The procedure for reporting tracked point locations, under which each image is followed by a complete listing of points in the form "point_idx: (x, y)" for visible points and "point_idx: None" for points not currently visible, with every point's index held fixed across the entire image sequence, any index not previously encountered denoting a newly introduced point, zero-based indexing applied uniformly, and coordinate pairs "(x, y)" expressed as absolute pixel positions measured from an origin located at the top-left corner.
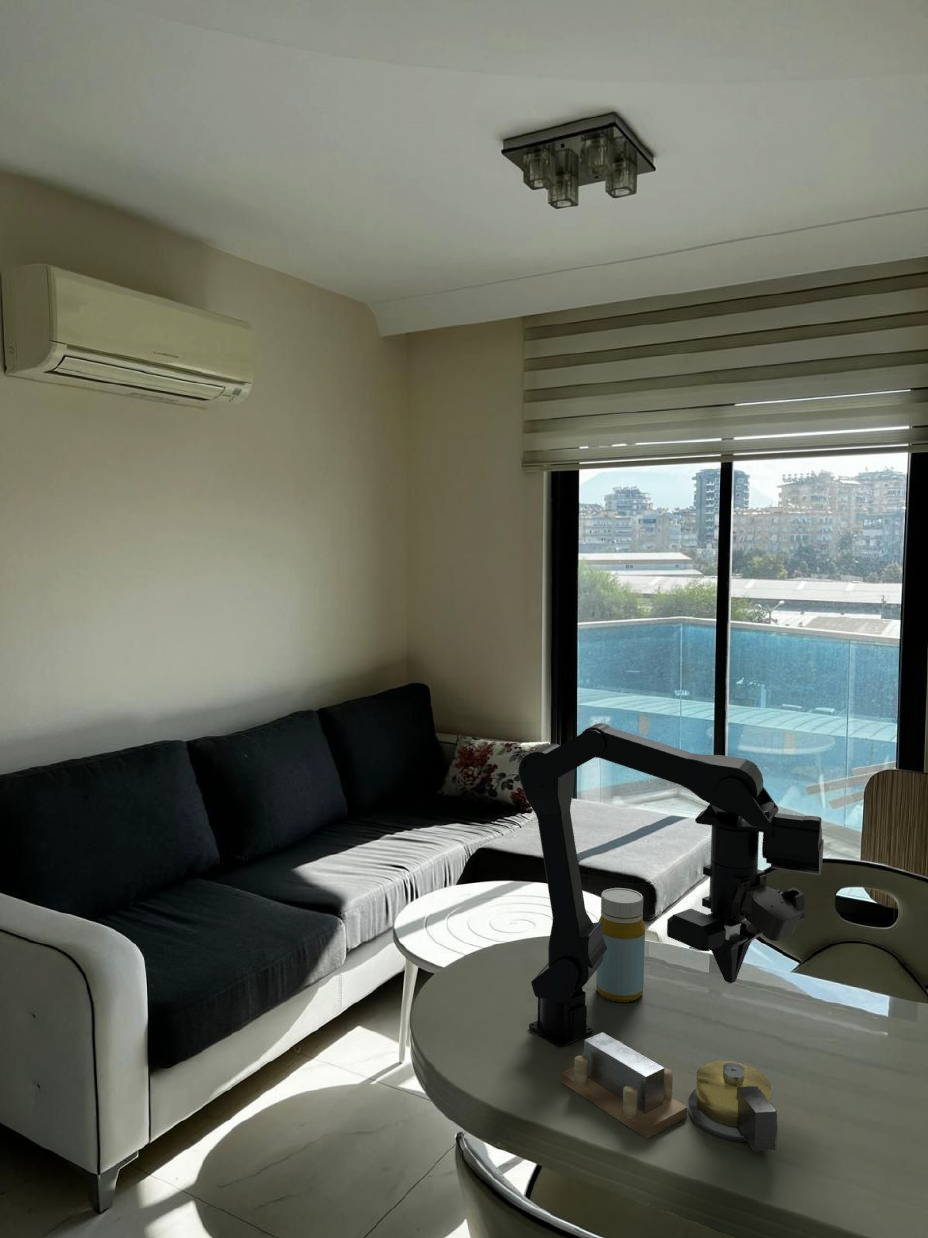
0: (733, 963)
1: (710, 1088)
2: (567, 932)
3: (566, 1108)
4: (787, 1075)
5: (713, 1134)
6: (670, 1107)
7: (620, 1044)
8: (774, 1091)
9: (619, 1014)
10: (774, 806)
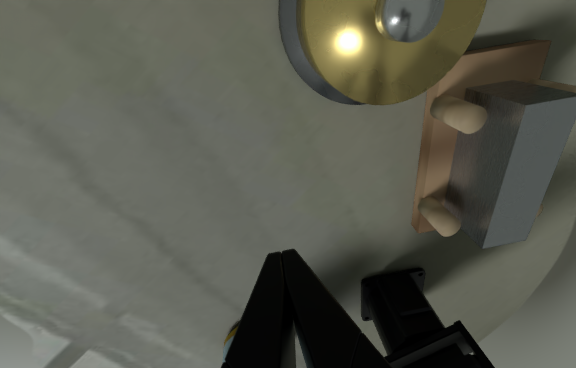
0: (337, 326)
1: (471, 12)
2: None
3: None
4: (149, 69)
5: None
6: (466, 73)
7: (499, 209)
8: (219, 36)
9: None
10: None
